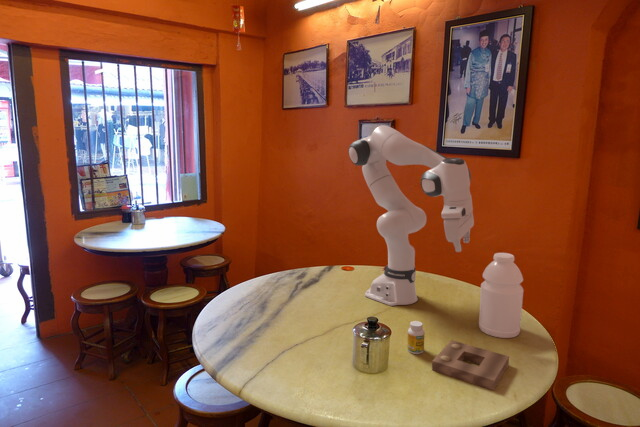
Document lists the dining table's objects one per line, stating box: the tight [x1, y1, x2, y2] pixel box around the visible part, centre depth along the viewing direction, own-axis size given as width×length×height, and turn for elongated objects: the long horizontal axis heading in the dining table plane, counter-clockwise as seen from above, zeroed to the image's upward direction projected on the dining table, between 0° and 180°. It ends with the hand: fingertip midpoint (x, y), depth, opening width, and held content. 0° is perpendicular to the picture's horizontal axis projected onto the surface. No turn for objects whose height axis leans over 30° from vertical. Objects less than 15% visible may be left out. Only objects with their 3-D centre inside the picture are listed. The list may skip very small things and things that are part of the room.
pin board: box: [431, 339, 510, 391], centre depth 133 cm, size 18×16×3 cm
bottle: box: [478, 252, 525, 339], centre depth 155 cm, size 14×14×28 cm
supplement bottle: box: [407, 320, 425, 355], centre depth 143 cm, size 5×5×10 cm
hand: (462, 246), depth 148 cm, fingers open, 8 cm apart
